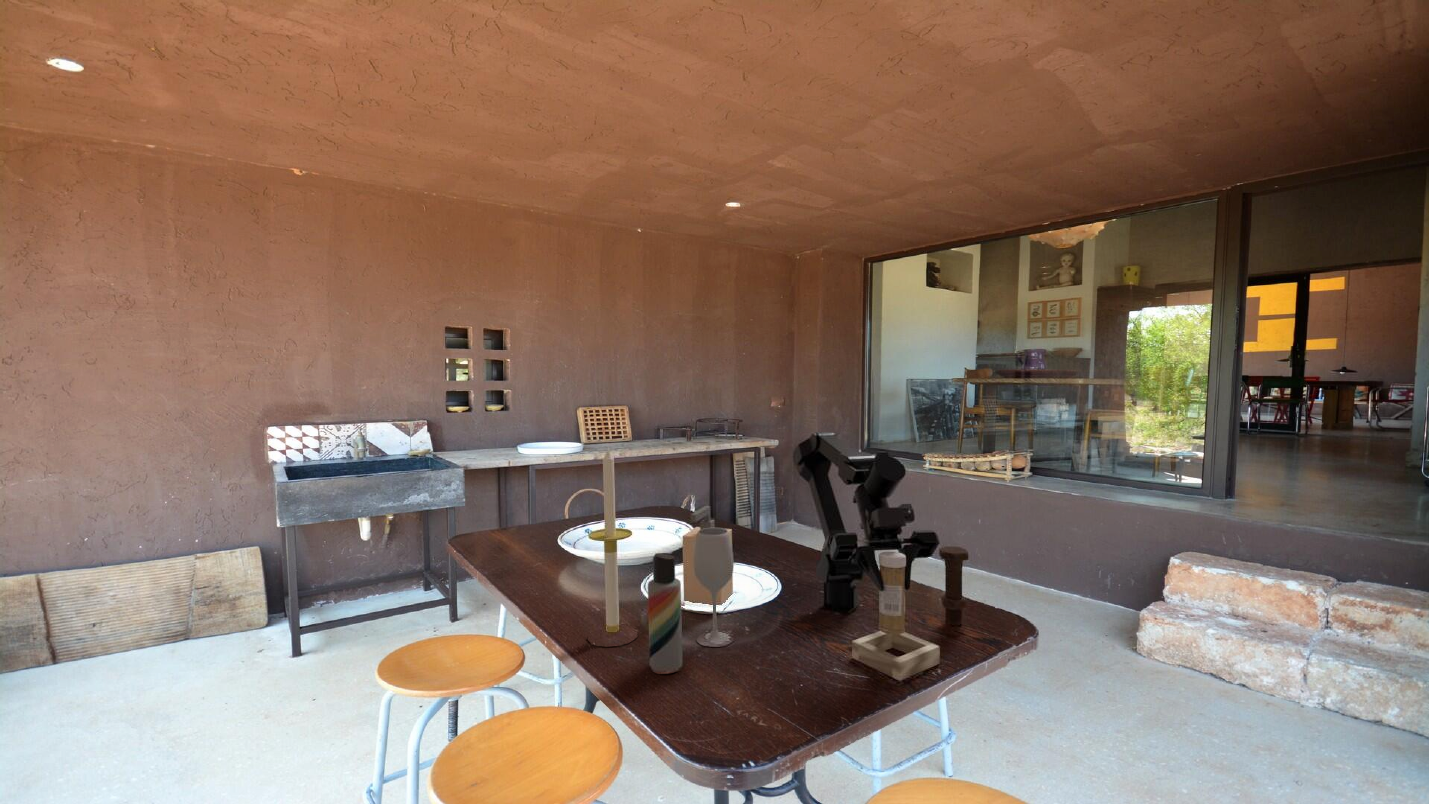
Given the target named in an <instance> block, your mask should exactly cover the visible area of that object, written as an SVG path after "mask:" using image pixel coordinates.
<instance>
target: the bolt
mask: <svg viewBox="0 0 1429 804" xmlns="http://www.w3.org/2000/svg"><path fill="white" fill-rule="evenodd" d="M938 551H939V552H938V555H939V556H940V559H941V560H944V567H945V568H944V569H945V570H944V571H945V572H944V575H945V578H944V579H945V580H944V581H945V582H944V583H945V584H944V585H945V590H944V591H945V593H943V594H941V604H942V606H943V607H944V610H945V623H946V624H947V623H948V625H949V626H960V624H961V625H962V624H963V610H964V609H965V608H967V599H966V597H965V596H964V595H963V565H964V561H968V560H969V551H968V549H966V548H964V547H960V546H952V545H951V546H947V545H946V546H942V547H940V548H939V550H938Z"/></svg>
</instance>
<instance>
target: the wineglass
mask: <svg viewBox="0 0 1429 804" xmlns="http://www.w3.org/2000/svg"><path fill="white" fill-rule="evenodd" d="M727 529H728V528H725V527H724V528H723V527H715V528H704V529H701V530H699V531H698V532H697V537H696V543H695V552H694V572H695V575H696V577H697V580H698V581H699V582H700V583H701V584H702V585H703V586H704V587H705V588H706V589H708V590H709V591H710V592H711V594H712V602H713V613H712V630H711V633H708V634H706V636H705V638H706V639H707V641H710V642H711V643H715V644H722V643H723V642H724V641H730V640H729V638H731V637H730V636H728V635H729V634H730V633H729V634H726V633H722V632H718V631H719V630H718V626H717V625H718V623H717V622H718V621H717V620H718V619H717V618H718V617H717V614H716V596H717V593H718V591H719V590H720V589H722V588H723V587H724V586H725V585H726V584H727V583H728V581H729V580H730V579H731V576H732V574H733V573H734V566H735V565H734V563H735V562H734V553H733V544H732V545H731V540H730V535H729V531H728V530H727ZM724 643H725V642H724Z"/></svg>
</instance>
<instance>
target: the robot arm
mask: <svg viewBox="0 0 1429 804" xmlns="http://www.w3.org/2000/svg"><path fill="white" fill-rule="evenodd" d="M792 460H793V464H794V465H795V467H796V470H797V472H798V475H799V476H800V477H802V478H803V479H804V480H805V481H806V482H807V483H808V485H809V488H810V492H811V496H812V500H813V502H814V506H815V509H816V513H817V516H818V519H819V523H820V527H821V530H822V534H823V538H824V542H823V545H822V549H821V551H820V552H821V557H820V559H819V562H818V563H817V565H816V569H815V570H816V576H817V578H818V579H819V580H820V581H822V582H823V586H822V587H823V589H822V591H823V602H822V603H821V604H820V605H819V606H820V609H825V610H830V611H834V612H839V613H845V614H850V613H851V612H852V611H853V610H855V608H856V607H858V606H859V605H860V604H859V585H857V584H856V583H857V580H859V581H860V580H861V581H862V579H863V577H864V573H865V574H866V575H867V576H868V577H869V579H870V580H871V581H872V582H873V583H874V585H875V586H876V587H877V589H878V591H879V590H880V591H883V590H884V586H883V581H882V577H881V574H880V567H879V565H878V561H877V559H876V552H875V551H897V552H898V553H902V554H904V555H905V556H906V566H905V591H909V590H910V589H911V580H912V578H911V576H912V564H913V562H914V561H915V559H925V558H927V559H928V558H931V557H932V556H933V554H934V553H935V551H936V549H937V548H938V546H939V545H940V543H941V542H940V539H939V536H938V534H937V532H936V531H934V530H933V529H923V530H913V532H912V533H911V536H910V537H909V538H908V537H906V538H899V536H900V535H901V534H902V532H903V530H902V528H903V527H907V524H911V523H913V522H915V520H916V519H915V511H914V508H913V506H912V503H901V504H900V505H899V506H898V507H897V506H895V507H894V506H893V507H890V505H889V501H888V498H890V497H891V496H893V495H894V493H895V491H896V490H897V489H898V487H899V485H900V484H901V482H902V481H903V479H904V478H905V477H906V467H905V465H904V464H903V463H901V461H899V460H898V459H897V458H895V457H893V456H890V455H889V453H888V451H877V452H876V454H872V453H869V452H865V451H857V450H855V449H853V448H852V447H851V446H849V445H848V444H847V443H845V442H844V441H843V440H841V439H840V438H838V437H837V435H836V433H835V432H832V431H821V432H819V431H818V432H817V431H816V432H814V433H812V434H811V435H810V437H808V438H807V439H805V440H803V441H802V442H800V443H798V444H797V446H796V447H795V449H794V451H793V453H792ZM832 464H833V465H835V466H836V467H837V468H838V469H837V470H838V471H837V475H838V477H839V478H840V480H841V481H842V482H843V483H844V484H845V486H846V485H847V486H852V485H854V486H855V485H858V486H857V487H856V488H855V491H854V493H853V494H854V495H853V497H852V503H853V504H857V505H856V506H857V509H858V513H859V517H860V523H859V525H860V529H861V530H862V531H863V535H864V537H863V538H862V537H860V538H858V534H857V533H856V532H847V529H846V527H845V525H844V521H843V518H842V515H841V512H840V507H839V505H838V502H837V499H836V495H835V492H834V488H833V486H832V482H831V480H830V476H829V473H830V470H831V466H832ZM898 535H899V536H898Z"/></svg>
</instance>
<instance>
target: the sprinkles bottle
mask: <svg viewBox="0 0 1429 804" xmlns="http://www.w3.org/2000/svg"><path fill="white" fill-rule="evenodd" d="M878 564H879V565H878V567H879V571H880V574H881V577H882V581H883V586H884V590H883V591H880V590H879V589H878V593H879V594H878V611H879V615H878V616H879V617H878V619H879V620H878V623H879V624H878V630H879V631H882V632H884V633H887V634H892V635H899V634H903V633H904V632H905V633H906V628H905V622H906V621H905V620H906V619H905V617H906V616H905V614H906V594H905V592H906V589H905V566H906V556H905V555H904V554H902V553H899V552H898V551H883V552H879V554H878Z"/></svg>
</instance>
